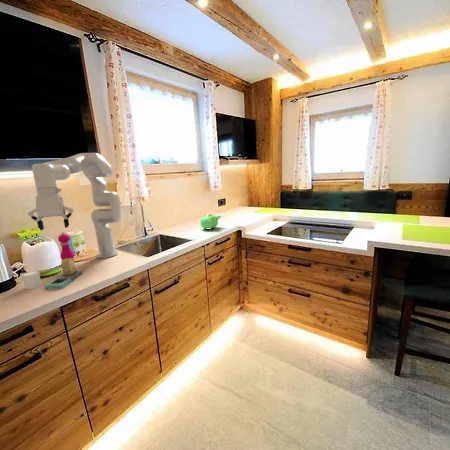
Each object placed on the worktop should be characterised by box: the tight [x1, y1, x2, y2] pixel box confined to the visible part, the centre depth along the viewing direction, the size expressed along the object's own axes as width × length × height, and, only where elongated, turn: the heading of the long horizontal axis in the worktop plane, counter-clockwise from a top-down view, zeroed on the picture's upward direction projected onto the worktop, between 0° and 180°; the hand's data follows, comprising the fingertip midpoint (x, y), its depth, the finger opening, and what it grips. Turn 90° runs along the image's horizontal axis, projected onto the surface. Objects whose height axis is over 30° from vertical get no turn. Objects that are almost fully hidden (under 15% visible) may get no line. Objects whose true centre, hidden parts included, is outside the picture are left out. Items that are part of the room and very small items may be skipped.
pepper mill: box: [57, 231, 76, 263], centre depth 144 cm, size 7×7×20 cm
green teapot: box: [199, 213, 222, 229], centre depth 219 cm, size 18×17×15 cm
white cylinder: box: [21, 270, 42, 290], centre depth 114 cm, size 7×7×7 cm
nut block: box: [60, 257, 77, 276], centre depth 123 cm, size 4×4×10 cm
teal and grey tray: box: [44, 269, 83, 290], centre depth 120 cm, size 17×8×2 cm, turn 2°
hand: (54, 228), depth 109 cm, fingers open, 9 cm apart
